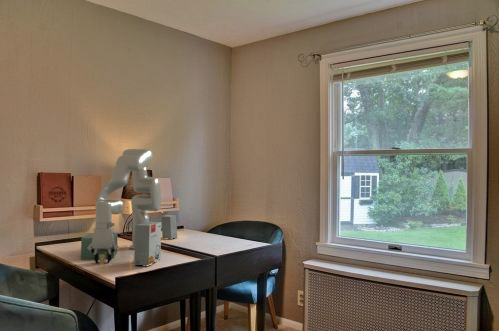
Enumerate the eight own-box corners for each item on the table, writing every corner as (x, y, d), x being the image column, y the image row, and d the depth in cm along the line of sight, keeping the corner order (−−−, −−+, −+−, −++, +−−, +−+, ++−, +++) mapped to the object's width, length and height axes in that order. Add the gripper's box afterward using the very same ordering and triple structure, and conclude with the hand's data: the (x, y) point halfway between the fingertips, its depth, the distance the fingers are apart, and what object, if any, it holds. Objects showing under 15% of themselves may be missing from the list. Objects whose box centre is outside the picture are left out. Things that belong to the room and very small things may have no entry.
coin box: (117, 252, 223) (117, 232, 223) (113, 258, 208) (113, 237, 208) (87, 253, 220) (87, 233, 220) (81, 259, 204) (81, 238, 205)
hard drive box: (148, 267, 190) (149, 225, 191) (133, 266, 192) (134, 225, 192) (161, 260, 206) (161, 221, 206) (147, 259, 207) (147, 221, 207)
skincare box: (177, 238, 270) (177, 215, 270) (170, 240, 264) (170, 216, 264) (168, 237, 275) (168, 214, 275) (160, 238, 269) (161, 215, 269)
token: (106, 261, 201) (106, 251, 201) (104, 264, 195) (104, 254, 195) (101, 261, 201) (101, 251, 201) (99, 264, 195) (99, 254, 195)
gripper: (122, 224, 204) (121, 260, 203) (86, 225, 200) (86, 261, 200) (120, 226, 196) (119, 263, 196) (83, 227, 193) (83, 264, 193)
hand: (102, 261), depth 198 cm, fingers open, 5 cm apart
